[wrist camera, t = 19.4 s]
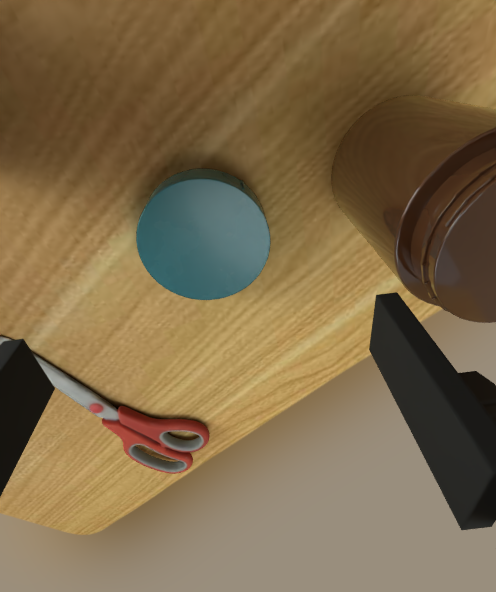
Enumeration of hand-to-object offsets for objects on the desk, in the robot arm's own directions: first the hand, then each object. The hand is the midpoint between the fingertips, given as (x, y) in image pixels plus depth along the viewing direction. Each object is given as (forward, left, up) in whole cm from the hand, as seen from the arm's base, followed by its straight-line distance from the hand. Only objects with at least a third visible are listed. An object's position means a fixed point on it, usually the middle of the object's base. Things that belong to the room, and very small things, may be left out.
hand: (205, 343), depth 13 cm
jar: (-9, -8, -11) cm, 16 cm away
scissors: (+3, +20, -11) cm, 23 cm away
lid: (0, 0, -9) cm, 9 cm away
